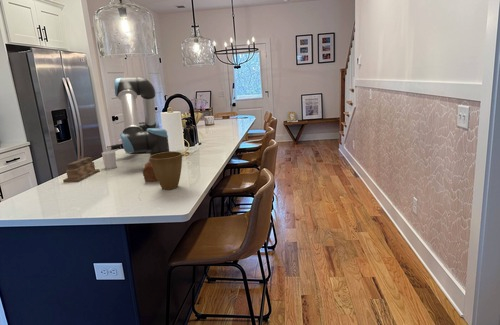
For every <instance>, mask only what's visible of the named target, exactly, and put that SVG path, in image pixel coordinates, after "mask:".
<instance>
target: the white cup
mask: <svg viewBox="0 0 500 325" xmlns="http://www.w3.org/2000/svg"><path fill="white" fill-rule="evenodd" d="M101 155H102V161H103V165H104V168H105V170H106V169H107V170H110V169H115V168H117V166H118V165H117V156H116V151H115V150H112V151H107V152H106V151H103V152H101Z"/></svg>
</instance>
